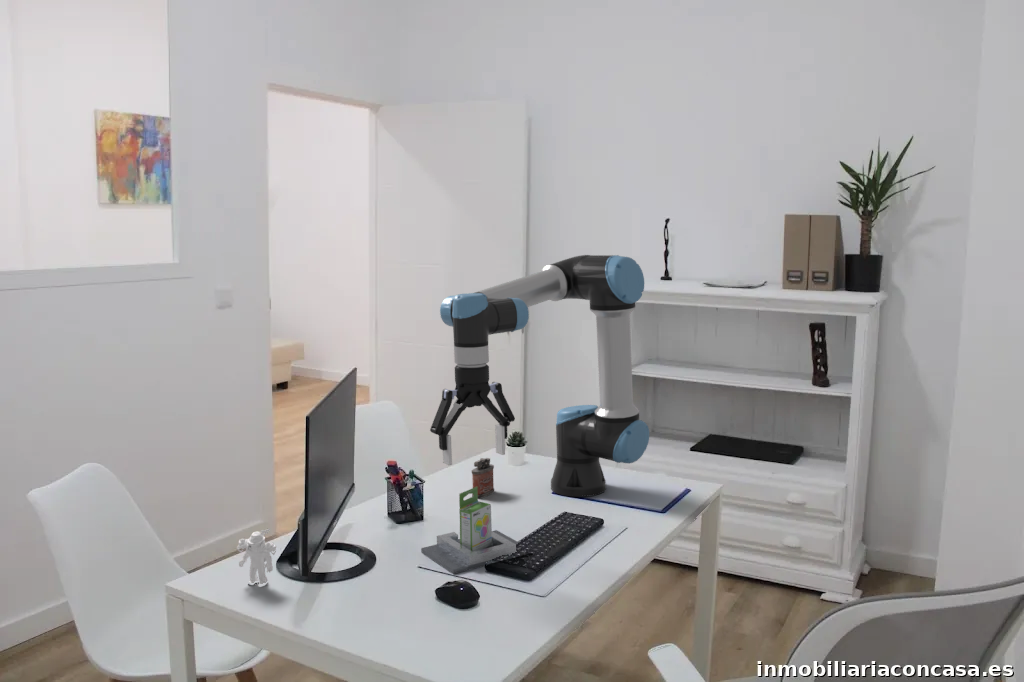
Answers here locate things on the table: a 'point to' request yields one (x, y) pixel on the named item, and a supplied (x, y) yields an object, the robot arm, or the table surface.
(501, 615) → the table surface
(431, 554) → the chassis plate
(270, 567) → the flower shoulder figurine
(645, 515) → the table surface
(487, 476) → the lighter
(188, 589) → the table surface
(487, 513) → the ink box
